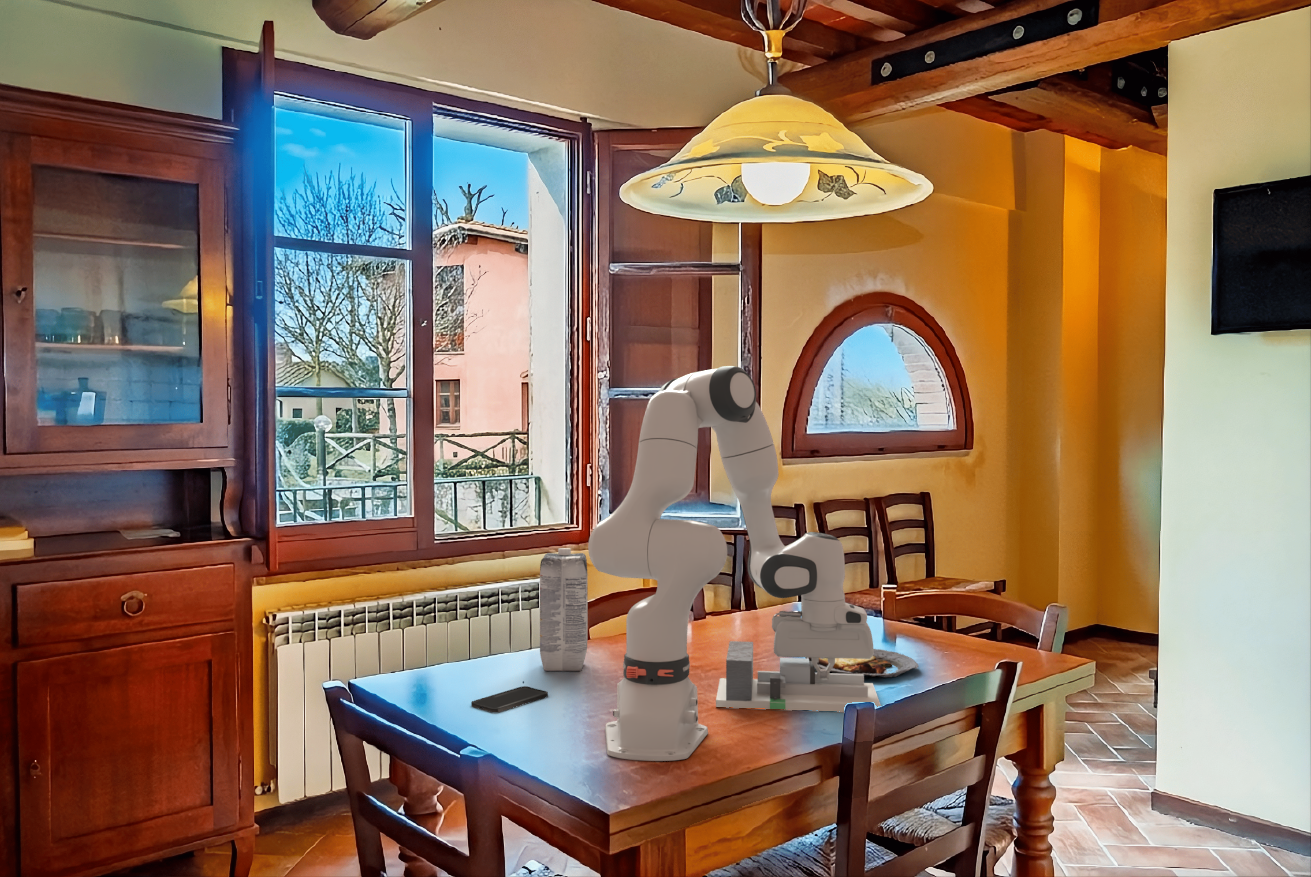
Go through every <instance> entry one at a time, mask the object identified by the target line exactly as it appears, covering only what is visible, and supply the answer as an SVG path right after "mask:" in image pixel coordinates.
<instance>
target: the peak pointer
mask: <svg viewBox="0 0 1311 877" xmlns="http://www.w3.org/2000/svg"><path fill="white" fill-rule="evenodd" d="M770 698H774V700H777V699H780V675H778V674H770Z"/></svg>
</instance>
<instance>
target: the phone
mask: <svg viewBox="0 0 1311 877" xmlns="http://www.w3.org/2000/svg"><path fill="white" fill-rule="evenodd" d="M545 697H546V698H548V697H549V692H548V690H547V691H546V690H542V689H538V688H535V687H531V686H525V685H524V686H519V687H515V688H512V689H509V690H505V691H502V692H499V693H495V694H491V695H489V696H486V697H482V698H479V699H474V700H472V701H471V702H470V703H471V704H470V705H471V707H472V708H475V709H478V708H479V709H478V710H481V711H485V712H489V713H492V712H498V713H501V712H504V710H505V711H508V710H510V708H511V709H514V708H517V707H516V706H518V707H520V705H521V706H523V705H522V704H524V705H526V704H525V703H527V704H529V703H528V702H530V703H533V702H537V701H539V699H540V700H542V699H546V698H545ZM513 707H514V708H513ZM507 709H508V710H507Z"/></svg>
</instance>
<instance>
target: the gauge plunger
mask: <svg viewBox="0 0 1311 877" xmlns="http://www.w3.org/2000/svg"><path fill="white" fill-rule="evenodd" d="M779 672H780V688H785V683H793V684H815V673H816V669H815V667H814V665H813V664H812V661H809V659H805V657H779Z"/></svg>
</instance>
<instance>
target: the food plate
mask: <svg viewBox="0 0 1311 877" xmlns="http://www.w3.org/2000/svg"><path fill="white" fill-rule="evenodd" d="M873 649H874V654H873V656H872V657H871V658H870V659H852V658H835V664H834V666H833V667H832V669H831V671H830V672H832V673H838V674H863V675H864V676H867V678H869V679H870V677H872V678H873V677H874V678H875V677H876V676H877V677H879V678H892V677H894V678H896V677H897V676H900V675H901V674H903V673H906V672H908V671H910V670H912V669H918V668H919V666H920V665H919V664H918V663H917V661H916V660H915V659H913V658H912V657H909V656H908V655H905V654H903V653H900V652H895V651H892V650H891V651H890V650H886V649H881V648H880V649H876V648H873ZM804 659H809V661H812V658H810V657H804ZM817 664H818V666H819V668H820V669H826V668H827V666H828V664H829V663H828V658H819V663H817ZM892 667H895V669H896V670H895V671H892V672H891V669H889V668H892ZM888 669H889V670H888Z"/></svg>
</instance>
